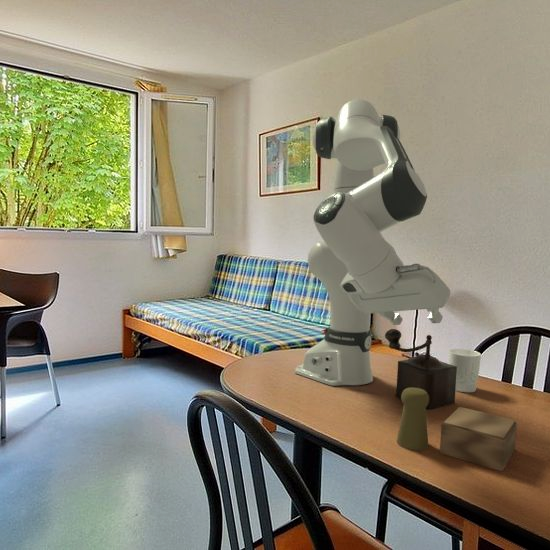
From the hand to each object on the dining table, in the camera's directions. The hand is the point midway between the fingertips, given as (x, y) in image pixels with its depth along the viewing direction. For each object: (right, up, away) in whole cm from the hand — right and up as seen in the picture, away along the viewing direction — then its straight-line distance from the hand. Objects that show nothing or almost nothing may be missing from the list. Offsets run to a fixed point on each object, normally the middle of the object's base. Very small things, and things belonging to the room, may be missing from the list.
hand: (417, 321), depth 92 cm
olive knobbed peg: (0, -24, +2) cm, 25 cm away
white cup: (+23, -22, +37) cm, 49 cm away
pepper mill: (+8, -22, +26) cm, 35 cm away
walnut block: (+11, -25, -1) cm, 27 cm away
